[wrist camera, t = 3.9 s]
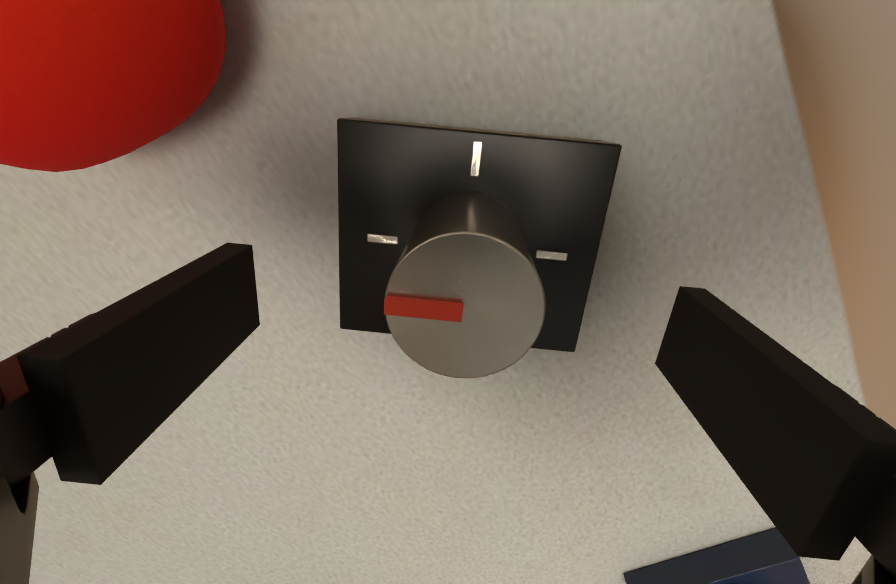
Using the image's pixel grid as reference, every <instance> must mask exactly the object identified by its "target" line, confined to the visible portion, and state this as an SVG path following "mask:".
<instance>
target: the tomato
mask: <svg viewBox="0 0 896 584" xmlns="http://www.w3.org/2000/svg"><path fill="white" fill-rule="evenodd" d="M225 49H226V40H225V26H224V14H223V10H222V6H221V2H220V0H0V164H4V165H9V166H14V167H20V168H25V169H32V170H42V171H52V172H61V171H69V170H77V169H84V168H88V167H91V166H94V165H98V164H101V163H104V162H107V161H110V160H112V159H115V158H117V157H120V156H122V155H125V154H127V153H130V152H132V151H134V150H136V149H138V148H139V147H141V146H143V145H145V144H147V143H149V142H151V141H153V140H155V139H157V138H158V137H160V136H162V135H164V134H166V133H168V132H169V131H171V130H172V129H174V128H175V127H176V126H178V125H179V124H181V123H182V122H183V121H185V120H186V119H188V118H189V117H190V116H191V115H192V114H193V113H194V111H195V110H196V109H197V108H198V107H199V106H200V105H201V104H202V103H203V102H204V101H205V100H206V98H207V97H208V95H209V93H210V91H211V89H212V88H213V86H214V84H215V82H216V80H217V79H218V77H219V75H220V71H221V66H222V62H223V58H224V54H225Z"/></svg>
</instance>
